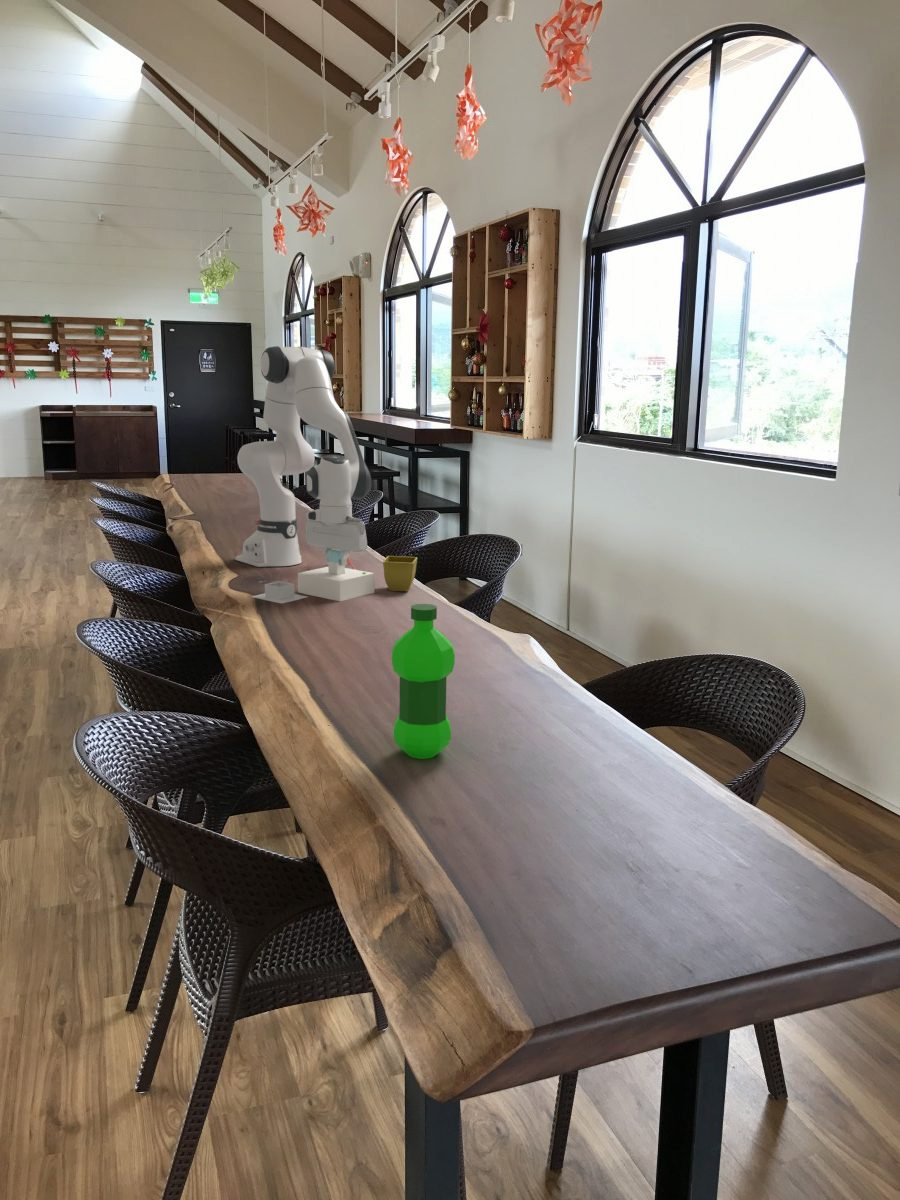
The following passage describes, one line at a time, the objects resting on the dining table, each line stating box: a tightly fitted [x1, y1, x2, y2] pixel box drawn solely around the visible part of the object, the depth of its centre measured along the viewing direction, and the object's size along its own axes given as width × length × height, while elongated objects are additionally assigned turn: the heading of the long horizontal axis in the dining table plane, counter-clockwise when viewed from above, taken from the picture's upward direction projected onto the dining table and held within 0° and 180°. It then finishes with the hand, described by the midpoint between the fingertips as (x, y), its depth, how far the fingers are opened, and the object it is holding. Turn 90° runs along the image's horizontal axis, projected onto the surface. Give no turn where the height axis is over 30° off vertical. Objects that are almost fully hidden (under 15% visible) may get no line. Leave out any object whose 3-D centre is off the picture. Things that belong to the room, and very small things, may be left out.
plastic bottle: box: [391, 603, 456, 760], centre depth 156 cm, size 10×10×25 cm
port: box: [297, 566, 375, 602], centre depth 267 cm, size 16×14×6 cm
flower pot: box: [382, 555, 418, 592], centre depth 274 cm, size 9×9×9 cm
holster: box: [250, 581, 308, 604], centre depth 261 cm, size 12×10×4 cm
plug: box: [327, 549, 346, 575], centre depth 266 cm, size 3×3×9 cm
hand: (336, 564), depth 266 cm, fingers closed on plug, 3 cm apart
